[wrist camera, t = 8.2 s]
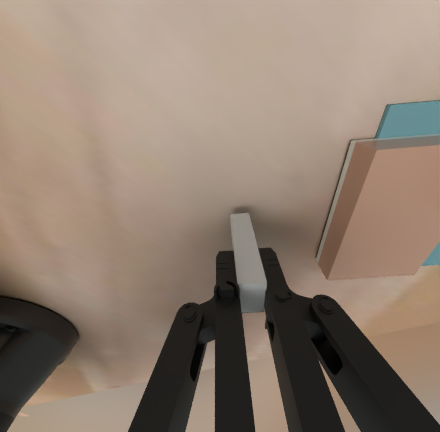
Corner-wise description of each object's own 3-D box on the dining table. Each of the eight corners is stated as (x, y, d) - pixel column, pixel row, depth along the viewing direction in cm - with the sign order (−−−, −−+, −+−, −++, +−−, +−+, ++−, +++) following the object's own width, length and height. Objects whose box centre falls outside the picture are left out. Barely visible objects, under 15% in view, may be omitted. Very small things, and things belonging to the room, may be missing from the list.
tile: (327, 280, 18) (414, 274, 18) (376, 150, 11) (517, 139, 11) (315, 260, 20) (393, 255, 20) (351, 140, 13) (469, 130, 13)
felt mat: (327, 269, 21) (328, 271, 21) (387, 104, 12) (390, 105, 12) (437, 262, 21) (440, 264, 21) (580, 88, 12) (588, 88, 12)
